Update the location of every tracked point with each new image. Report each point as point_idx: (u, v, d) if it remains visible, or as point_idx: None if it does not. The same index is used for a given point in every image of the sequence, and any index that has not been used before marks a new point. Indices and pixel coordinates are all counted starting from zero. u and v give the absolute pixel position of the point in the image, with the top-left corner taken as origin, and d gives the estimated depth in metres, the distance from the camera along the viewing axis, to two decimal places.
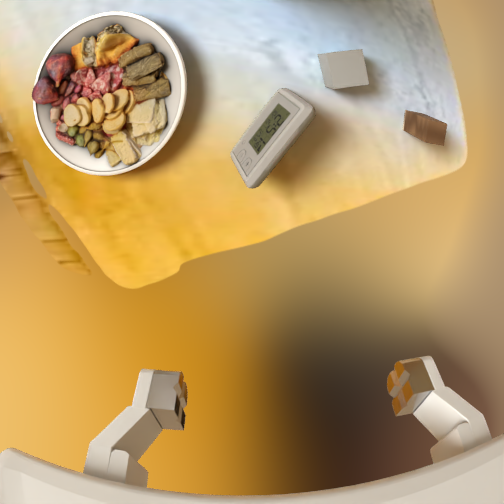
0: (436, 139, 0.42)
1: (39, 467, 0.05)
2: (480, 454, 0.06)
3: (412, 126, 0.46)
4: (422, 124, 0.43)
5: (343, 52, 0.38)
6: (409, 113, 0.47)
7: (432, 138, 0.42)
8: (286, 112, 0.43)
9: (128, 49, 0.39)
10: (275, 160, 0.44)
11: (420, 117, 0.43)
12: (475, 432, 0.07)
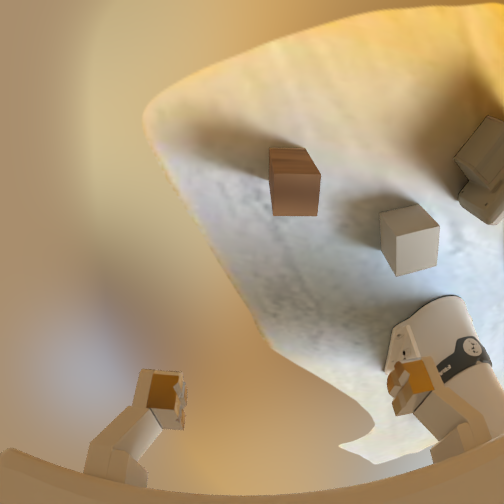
0: (295, 183, 0.26)
1: (39, 466, 0.05)
2: (480, 454, 0.06)
3: None
4: None
5: (418, 269, 0.35)
6: None
7: (305, 183, 0.26)
8: None
9: None
10: None
11: None
12: (475, 432, 0.07)
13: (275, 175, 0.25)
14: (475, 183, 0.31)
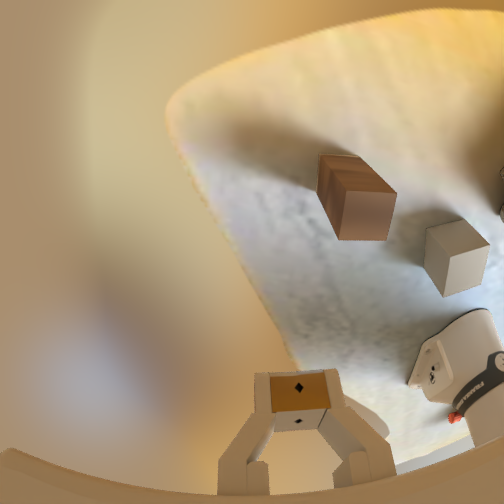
0: (368, 202, 0.21)
1: (39, 467, 0.05)
2: (480, 454, 0.06)
3: None
4: None
5: (464, 289, 0.30)
6: None
7: (379, 203, 0.21)
8: None
9: None
10: None
11: None
12: (373, 464, 0.07)
13: (347, 193, 0.20)
14: None
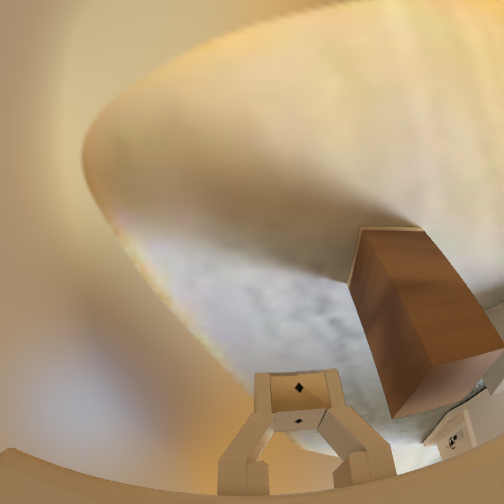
0: (460, 371, 0.09)
1: (39, 466, 0.05)
2: (480, 454, 0.06)
3: None
4: None
5: None
6: None
7: (475, 367, 0.09)
8: None
9: None
10: None
11: None
12: (373, 464, 0.07)
13: (433, 369, 0.08)
14: None
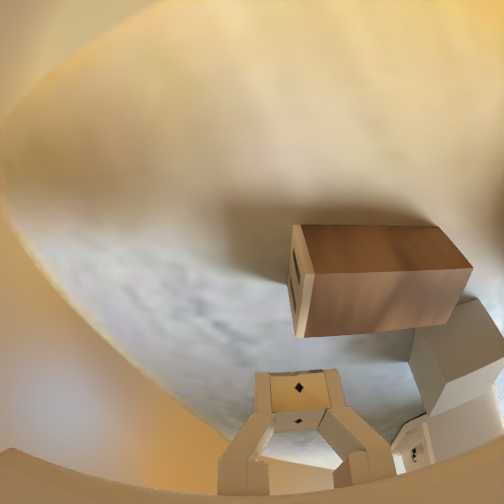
0: None
1: (39, 467, 0.05)
2: (480, 454, 0.06)
3: None
4: None
5: (461, 403, 0.18)
6: None
7: None
8: None
9: None
10: None
11: None
12: (373, 464, 0.07)
13: (471, 269, 0.13)
14: None
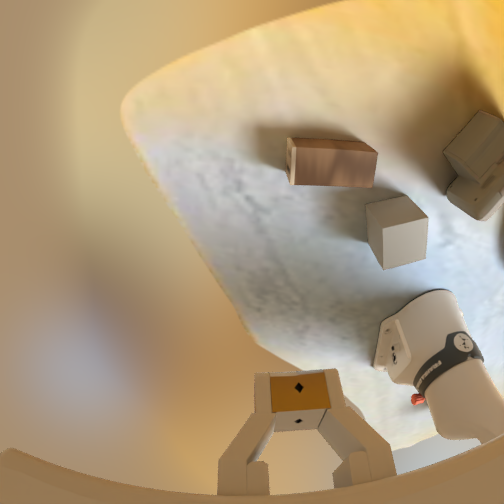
0: None
1: (39, 466, 0.05)
2: (480, 454, 0.06)
3: None
4: None
5: (406, 262, 0.34)
6: None
7: None
8: None
9: None
10: None
11: None
12: (373, 464, 0.07)
13: (377, 153, 0.29)
14: (464, 178, 0.31)
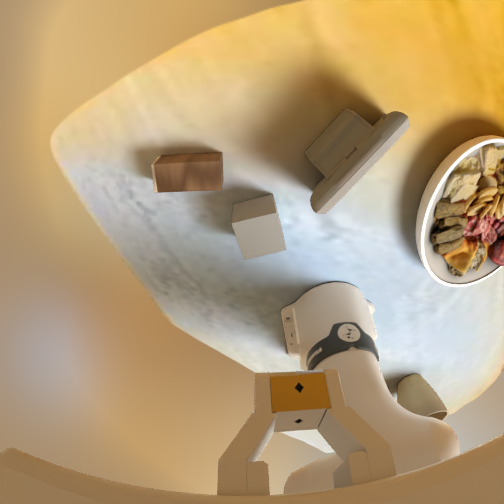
0: (221, 163, 0.39)
1: (39, 467, 0.05)
2: (480, 454, 0.06)
3: None
4: None
5: (266, 253, 0.43)
6: None
7: (221, 161, 0.40)
8: None
9: None
10: (371, 150, 0.30)
11: None
12: (373, 464, 0.07)
13: (220, 162, 0.38)
14: None
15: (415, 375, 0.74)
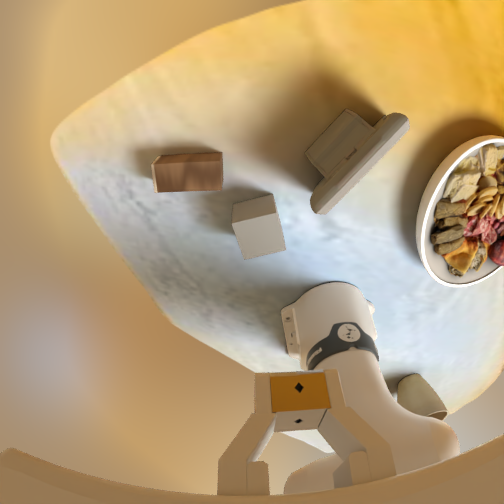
0: (221, 163, 0.39)
1: (39, 466, 0.05)
2: (480, 454, 0.06)
3: None
4: None
5: (266, 253, 0.43)
6: None
7: (221, 161, 0.40)
8: None
9: None
10: (371, 151, 0.30)
11: None
12: (373, 464, 0.07)
13: (220, 162, 0.38)
14: None
15: (415, 375, 0.74)
